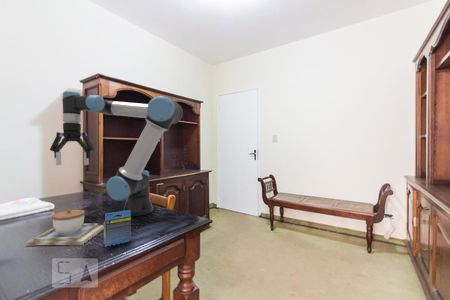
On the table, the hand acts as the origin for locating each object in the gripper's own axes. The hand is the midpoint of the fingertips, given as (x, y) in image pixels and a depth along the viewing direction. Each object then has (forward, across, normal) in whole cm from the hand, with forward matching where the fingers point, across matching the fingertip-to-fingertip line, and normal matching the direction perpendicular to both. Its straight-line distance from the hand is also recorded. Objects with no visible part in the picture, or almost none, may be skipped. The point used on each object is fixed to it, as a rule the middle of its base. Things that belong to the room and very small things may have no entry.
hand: (72, 165), depth 116 cm
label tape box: (+27, -35, +32) cm, 55 cm away
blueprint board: (+27, -13, +25) cm, 39 cm away
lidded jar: (+25, -13, +25) cm, 38 cm away
